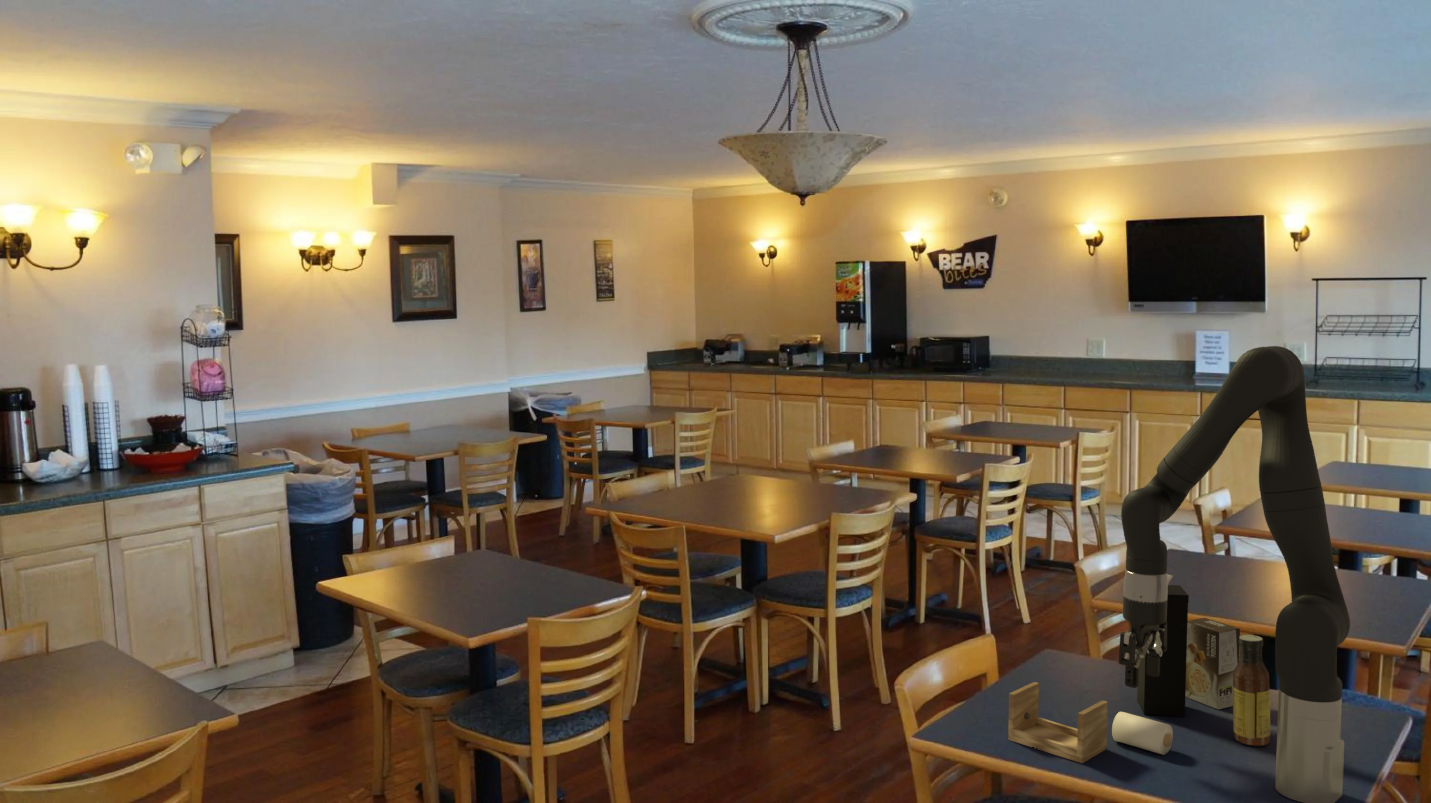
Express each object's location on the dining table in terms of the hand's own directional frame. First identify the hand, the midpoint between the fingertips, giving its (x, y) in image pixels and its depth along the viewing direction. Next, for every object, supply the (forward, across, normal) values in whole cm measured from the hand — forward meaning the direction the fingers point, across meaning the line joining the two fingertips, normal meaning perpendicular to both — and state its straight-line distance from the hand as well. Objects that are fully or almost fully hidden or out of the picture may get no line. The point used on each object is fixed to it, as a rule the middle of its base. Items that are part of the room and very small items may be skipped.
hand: (1142, 680), depth 201 cm
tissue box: (+13, +21, +6) cm, 25 cm away
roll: (+13, 0, 0) cm, 13 cm away
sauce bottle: (+13, +17, -13) cm, 25 cm away
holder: (+13, -10, +11) cm, 20 cm away
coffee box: (+13, +33, +1) cm, 35 cm away
